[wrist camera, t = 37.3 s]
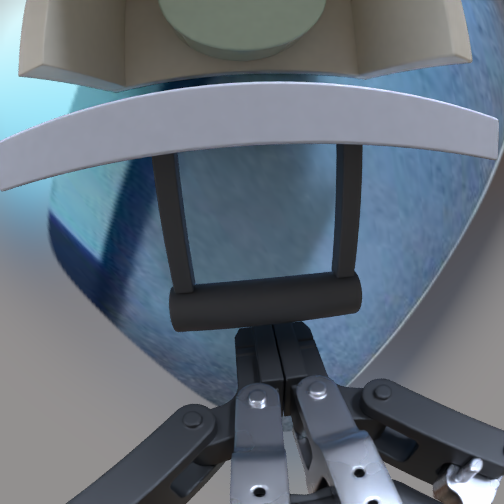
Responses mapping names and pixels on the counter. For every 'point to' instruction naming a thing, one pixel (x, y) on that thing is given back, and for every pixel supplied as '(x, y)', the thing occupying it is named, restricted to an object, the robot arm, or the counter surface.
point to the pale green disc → (241, 25)
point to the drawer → (243, 123)
